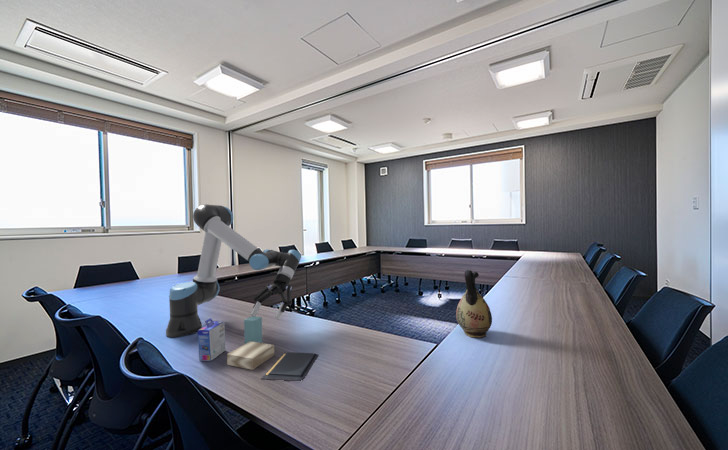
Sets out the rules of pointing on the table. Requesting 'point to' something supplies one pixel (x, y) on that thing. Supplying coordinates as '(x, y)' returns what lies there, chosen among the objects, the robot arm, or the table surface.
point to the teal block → (253, 329)
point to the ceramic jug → (473, 309)
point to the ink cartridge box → (211, 340)
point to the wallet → (291, 367)
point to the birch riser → (250, 355)
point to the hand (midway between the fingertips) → (264, 317)
